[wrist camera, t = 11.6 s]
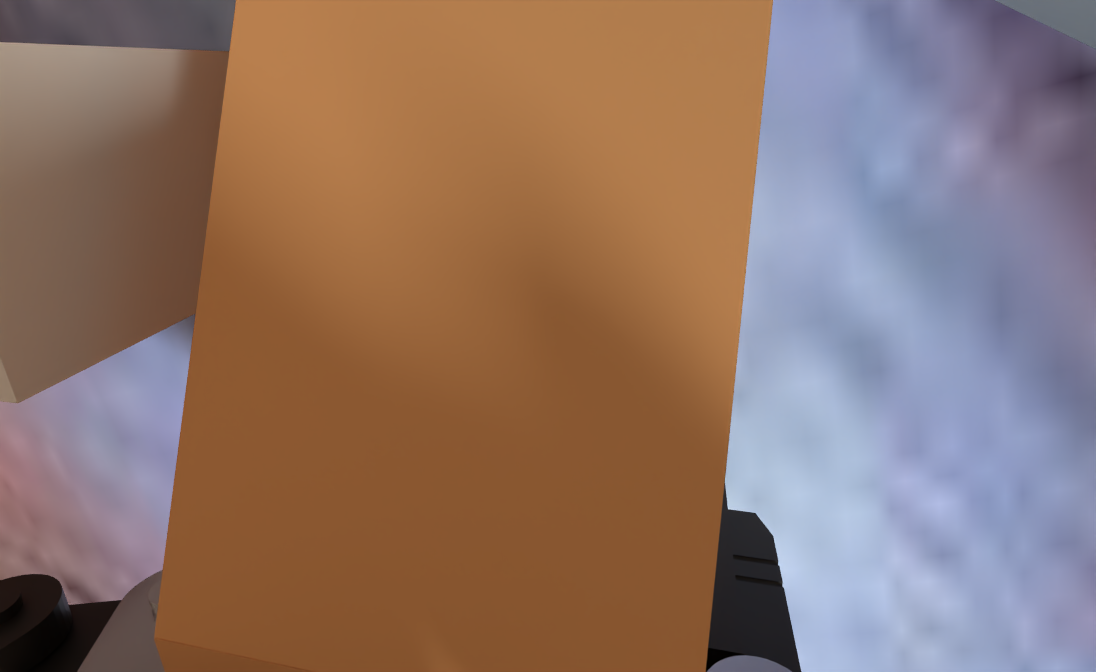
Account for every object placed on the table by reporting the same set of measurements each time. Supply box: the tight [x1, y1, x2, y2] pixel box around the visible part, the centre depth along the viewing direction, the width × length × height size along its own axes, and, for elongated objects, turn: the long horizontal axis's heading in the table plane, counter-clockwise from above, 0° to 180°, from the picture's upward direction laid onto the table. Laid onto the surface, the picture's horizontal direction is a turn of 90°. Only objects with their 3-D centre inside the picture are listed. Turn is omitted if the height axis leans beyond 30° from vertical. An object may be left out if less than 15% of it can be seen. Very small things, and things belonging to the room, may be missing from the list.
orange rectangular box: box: [154, 0, 773, 672], centre depth 7 cm, size 11×5×6 cm, turn 179°
